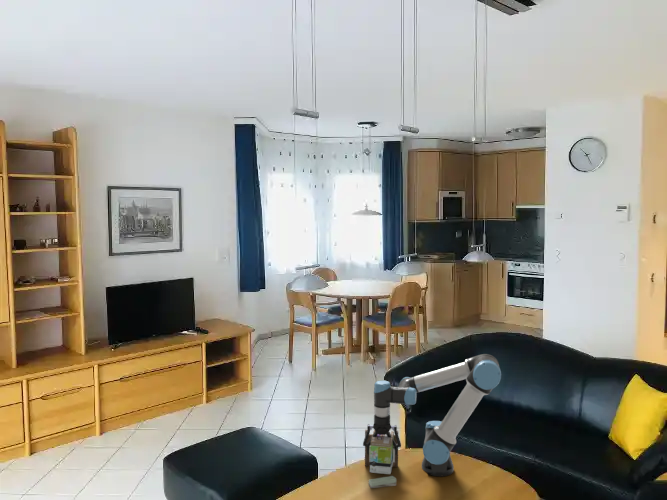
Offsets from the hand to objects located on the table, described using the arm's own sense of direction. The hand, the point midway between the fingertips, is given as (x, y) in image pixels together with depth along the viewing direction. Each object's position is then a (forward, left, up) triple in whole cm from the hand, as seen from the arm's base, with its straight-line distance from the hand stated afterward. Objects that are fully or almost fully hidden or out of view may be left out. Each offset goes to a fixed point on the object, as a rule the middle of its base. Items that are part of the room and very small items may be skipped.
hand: (381, 460), depth 260 cm
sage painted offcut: (0, +11, -5) cm, 12 cm away
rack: (0, -10, -8) cm, 12 cm away
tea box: (0, 0, -3) cm, 3 cm away
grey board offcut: (0, +10, -7) cm, 12 cm away
